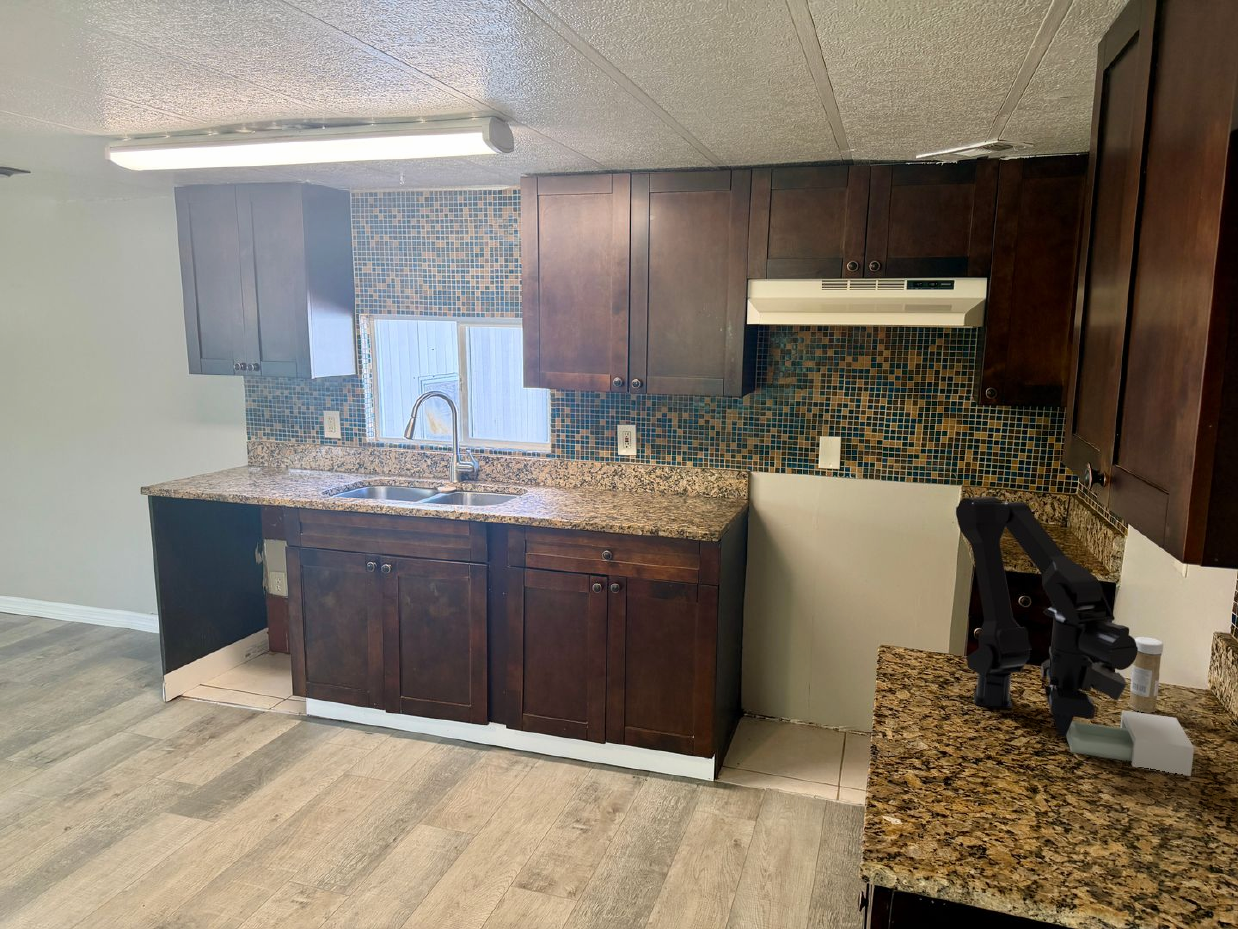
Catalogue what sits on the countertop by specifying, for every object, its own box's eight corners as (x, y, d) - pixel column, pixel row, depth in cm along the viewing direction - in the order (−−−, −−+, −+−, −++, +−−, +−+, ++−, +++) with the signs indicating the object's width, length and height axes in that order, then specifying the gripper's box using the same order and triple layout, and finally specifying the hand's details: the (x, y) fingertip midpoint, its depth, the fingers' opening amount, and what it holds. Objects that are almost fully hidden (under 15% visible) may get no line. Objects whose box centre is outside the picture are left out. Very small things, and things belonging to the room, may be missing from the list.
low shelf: (1119, 736, 147) (1122, 710, 147) (1173, 744, 144) (1176, 718, 144) (1132, 766, 137) (1135, 738, 136) (1190, 776, 134) (1194, 747, 133)
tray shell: (1064, 731, 149) (1065, 717, 148) (1143, 743, 145) (1144, 729, 144) (1071, 752, 141) (1072, 737, 141) (1154, 765, 137) (1155, 750, 137)
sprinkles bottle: (1162, 713, 157) (1169, 643, 155) (1141, 715, 156) (1149, 645, 154) (1141, 703, 161) (1148, 635, 159) (1121, 705, 160) (1128, 637, 158)
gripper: (1135, 675, 131) (1125, 769, 134) (1115, 637, 149) (1106, 721, 151) (1055, 664, 135) (1047, 756, 138) (1044, 628, 153) (1037, 710, 155)
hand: (1061, 735), depth 145 cm, fingers closed, pressing on tray shell
